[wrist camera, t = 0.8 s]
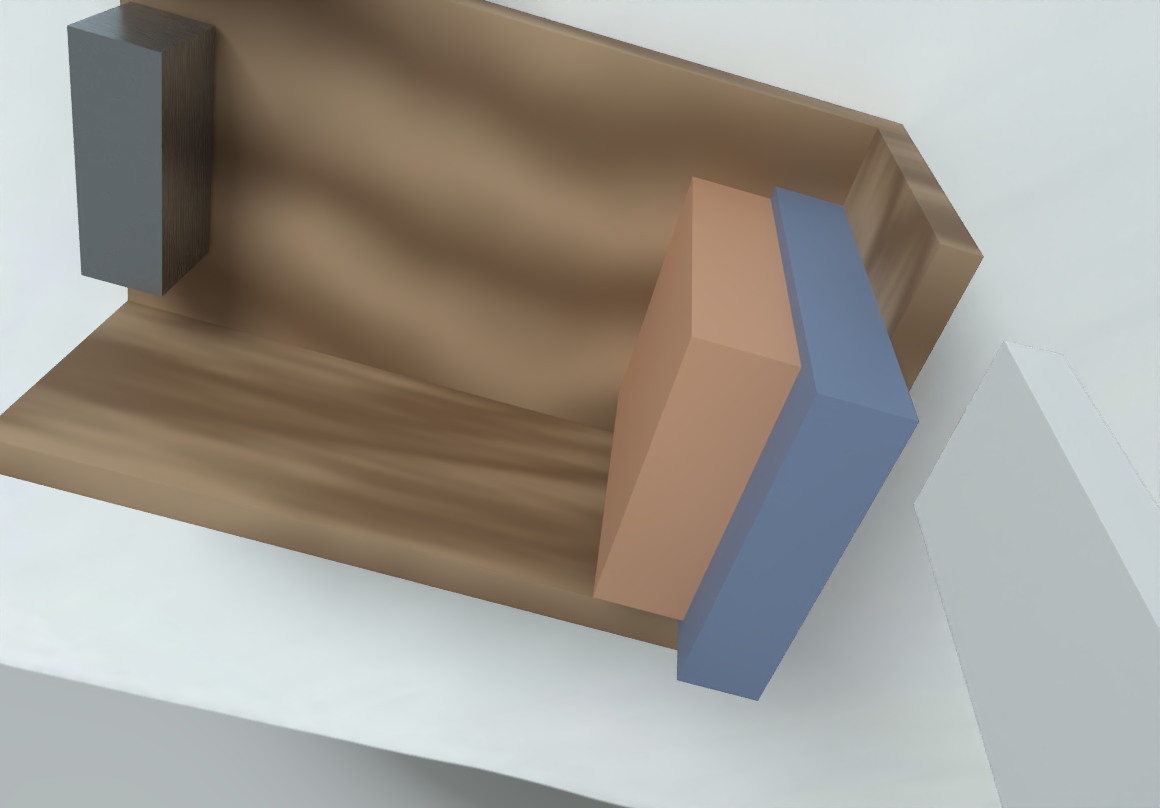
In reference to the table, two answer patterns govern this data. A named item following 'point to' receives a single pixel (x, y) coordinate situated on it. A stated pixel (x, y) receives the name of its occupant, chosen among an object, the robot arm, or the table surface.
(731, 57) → the table surface
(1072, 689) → the robot arm
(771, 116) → the wooden book rack
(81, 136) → the grey rectangular block
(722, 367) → the books
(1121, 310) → the table surface
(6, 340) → the table surface
